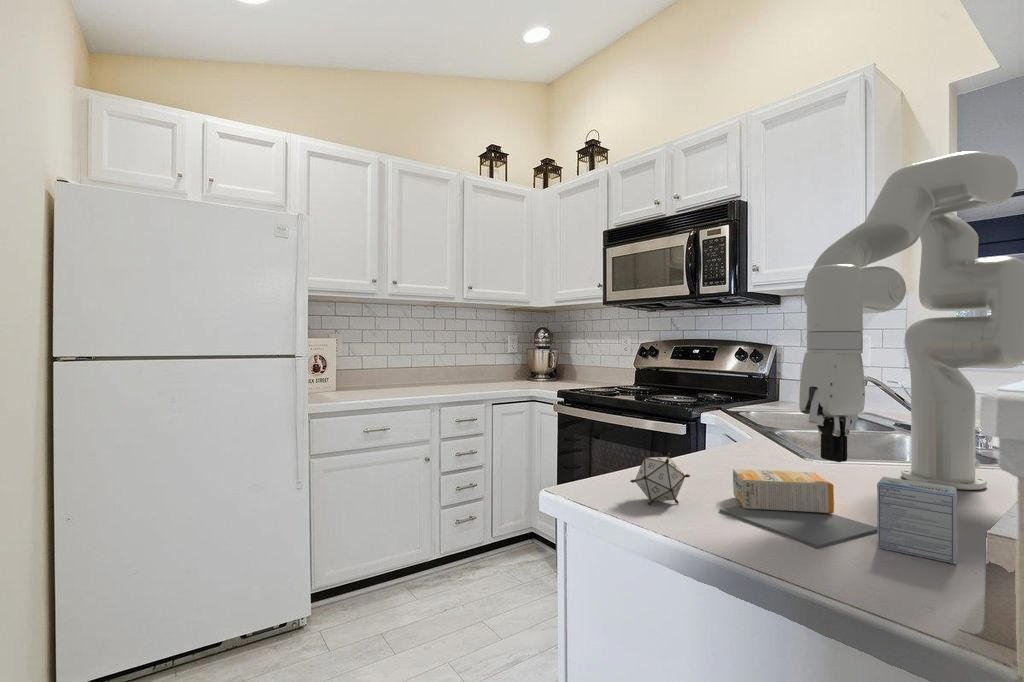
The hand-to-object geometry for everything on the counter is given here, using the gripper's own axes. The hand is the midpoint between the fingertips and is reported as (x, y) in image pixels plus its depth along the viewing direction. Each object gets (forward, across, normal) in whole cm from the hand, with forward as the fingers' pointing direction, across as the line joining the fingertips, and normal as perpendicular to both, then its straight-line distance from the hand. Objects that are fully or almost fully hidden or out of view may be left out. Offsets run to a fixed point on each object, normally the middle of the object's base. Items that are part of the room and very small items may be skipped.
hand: (833, 459), depth 81 cm
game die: (+9, +21, -16) cm, 28 cm away
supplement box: (+5, 0, -1) cm, 6 cm away
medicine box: (+9, +6, +14) cm, 17 cm away
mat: (+8, +9, 0) cm, 12 cm away
